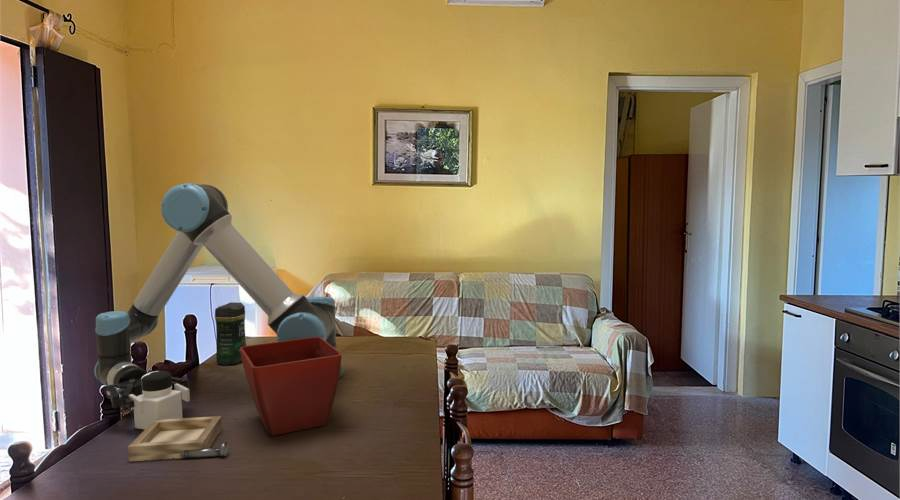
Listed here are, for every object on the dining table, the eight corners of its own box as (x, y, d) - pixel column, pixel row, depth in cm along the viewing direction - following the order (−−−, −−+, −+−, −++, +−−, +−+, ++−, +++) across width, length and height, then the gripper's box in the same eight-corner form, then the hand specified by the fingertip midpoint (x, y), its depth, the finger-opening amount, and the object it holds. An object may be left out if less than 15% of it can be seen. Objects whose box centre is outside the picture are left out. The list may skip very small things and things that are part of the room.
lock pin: (228, 452, 118) (227, 440, 117) (225, 458, 115) (224, 445, 115) (182, 455, 116) (182, 442, 116) (178, 461, 114) (177, 448, 114)
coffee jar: (237, 366, 178) (234, 306, 177) (212, 365, 179) (209, 306, 177) (251, 357, 188) (248, 300, 186) (227, 357, 189) (224, 300, 187)
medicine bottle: (183, 420, 135) (180, 370, 134) (159, 432, 128) (155, 379, 127) (159, 417, 137) (156, 367, 136) (134, 428, 130) (130, 376, 129)
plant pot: (255, 446, 120) (252, 366, 119) (242, 415, 137) (239, 345, 136) (345, 428, 129) (343, 354, 128) (322, 402, 146) (320, 336, 145)
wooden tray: (221, 429, 130) (221, 416, 129) (203, 456, 116) (202, 442, 115) (155, 433, 128) (154, 419, 128) (128, 461, 114) (127, 446, 114)
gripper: (175, 384, 153) (214, 404, 137) (79, 407, 137) (112, 432, 121) (173, 356, 152) (212, 373, 137) (77, 375, 136) (109, 397, 121)
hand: (165, 401), depth 129 cm, fingers closed on medicine bottle, 9 cm apart
